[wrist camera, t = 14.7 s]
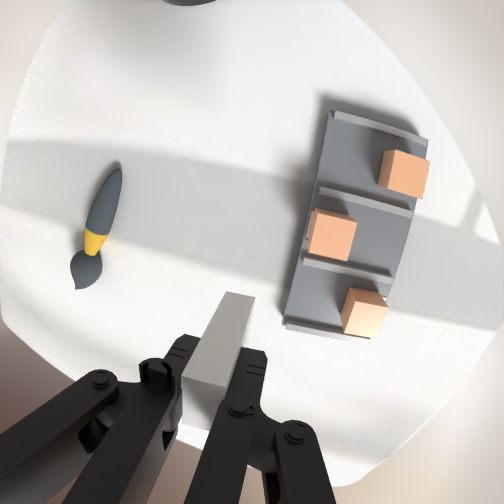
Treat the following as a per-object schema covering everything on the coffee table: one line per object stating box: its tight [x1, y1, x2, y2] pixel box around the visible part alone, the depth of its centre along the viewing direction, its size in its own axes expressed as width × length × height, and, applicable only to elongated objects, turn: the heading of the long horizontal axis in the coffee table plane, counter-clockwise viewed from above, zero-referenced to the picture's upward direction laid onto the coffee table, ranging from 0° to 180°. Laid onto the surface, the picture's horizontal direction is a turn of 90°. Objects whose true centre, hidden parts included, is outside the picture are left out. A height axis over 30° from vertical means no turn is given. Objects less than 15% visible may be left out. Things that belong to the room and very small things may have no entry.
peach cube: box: [307, 208, 357, 261], centre depth 30 cm, size 4×4×4 cm
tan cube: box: [340, 287, 389, 338], centre depth 32 cm, size 4×4×4 cm
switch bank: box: [282, 110, 428, 344], centre depth 32 cm, size 26×12×3 cm, turn 169°
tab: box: [377, 149, 430, 199], centre depth 27 cm, size 4×4×4 cm
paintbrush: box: [70, 169, 122, 290], centre depth 37 cm, size 20×5×5 cm, turn 158°
